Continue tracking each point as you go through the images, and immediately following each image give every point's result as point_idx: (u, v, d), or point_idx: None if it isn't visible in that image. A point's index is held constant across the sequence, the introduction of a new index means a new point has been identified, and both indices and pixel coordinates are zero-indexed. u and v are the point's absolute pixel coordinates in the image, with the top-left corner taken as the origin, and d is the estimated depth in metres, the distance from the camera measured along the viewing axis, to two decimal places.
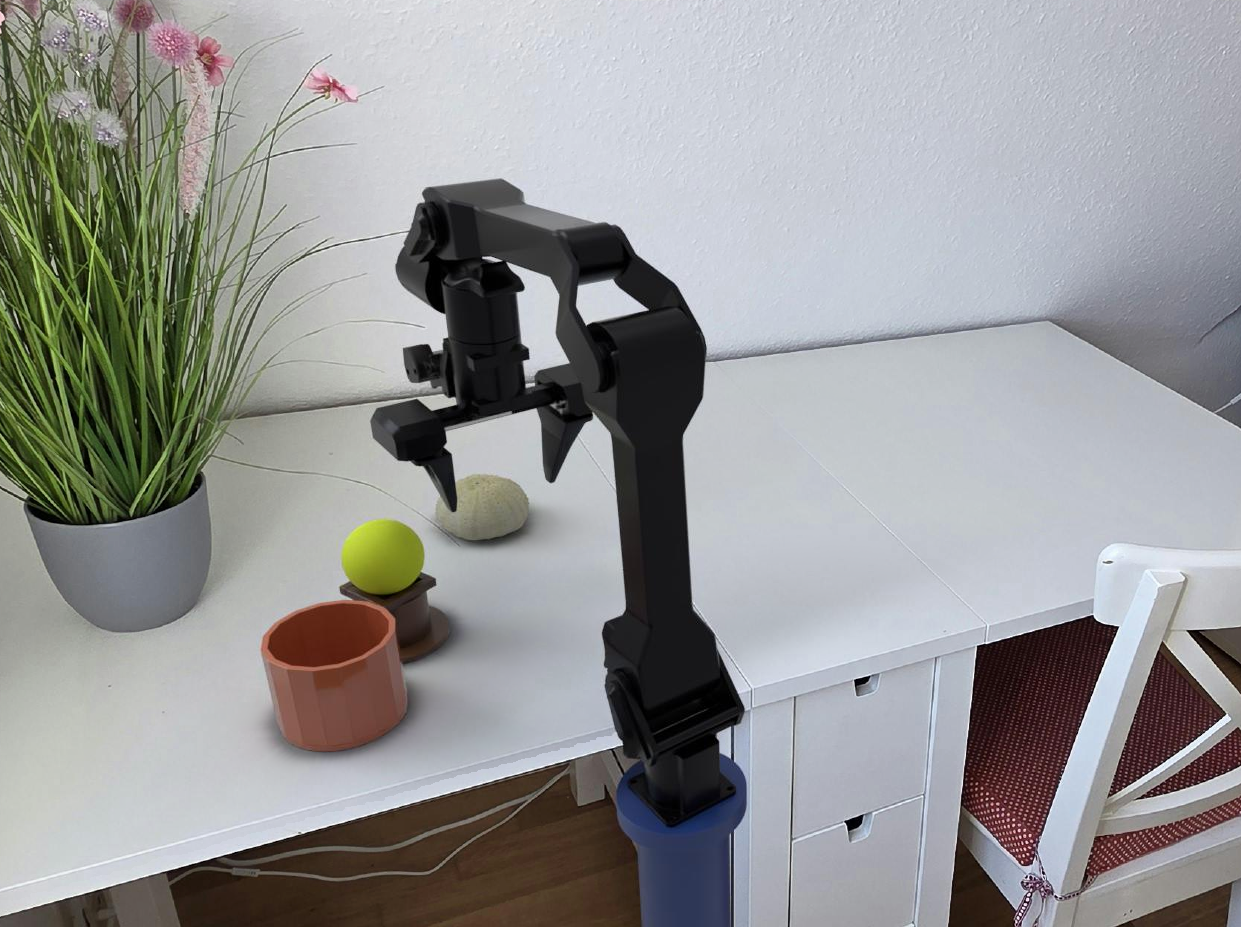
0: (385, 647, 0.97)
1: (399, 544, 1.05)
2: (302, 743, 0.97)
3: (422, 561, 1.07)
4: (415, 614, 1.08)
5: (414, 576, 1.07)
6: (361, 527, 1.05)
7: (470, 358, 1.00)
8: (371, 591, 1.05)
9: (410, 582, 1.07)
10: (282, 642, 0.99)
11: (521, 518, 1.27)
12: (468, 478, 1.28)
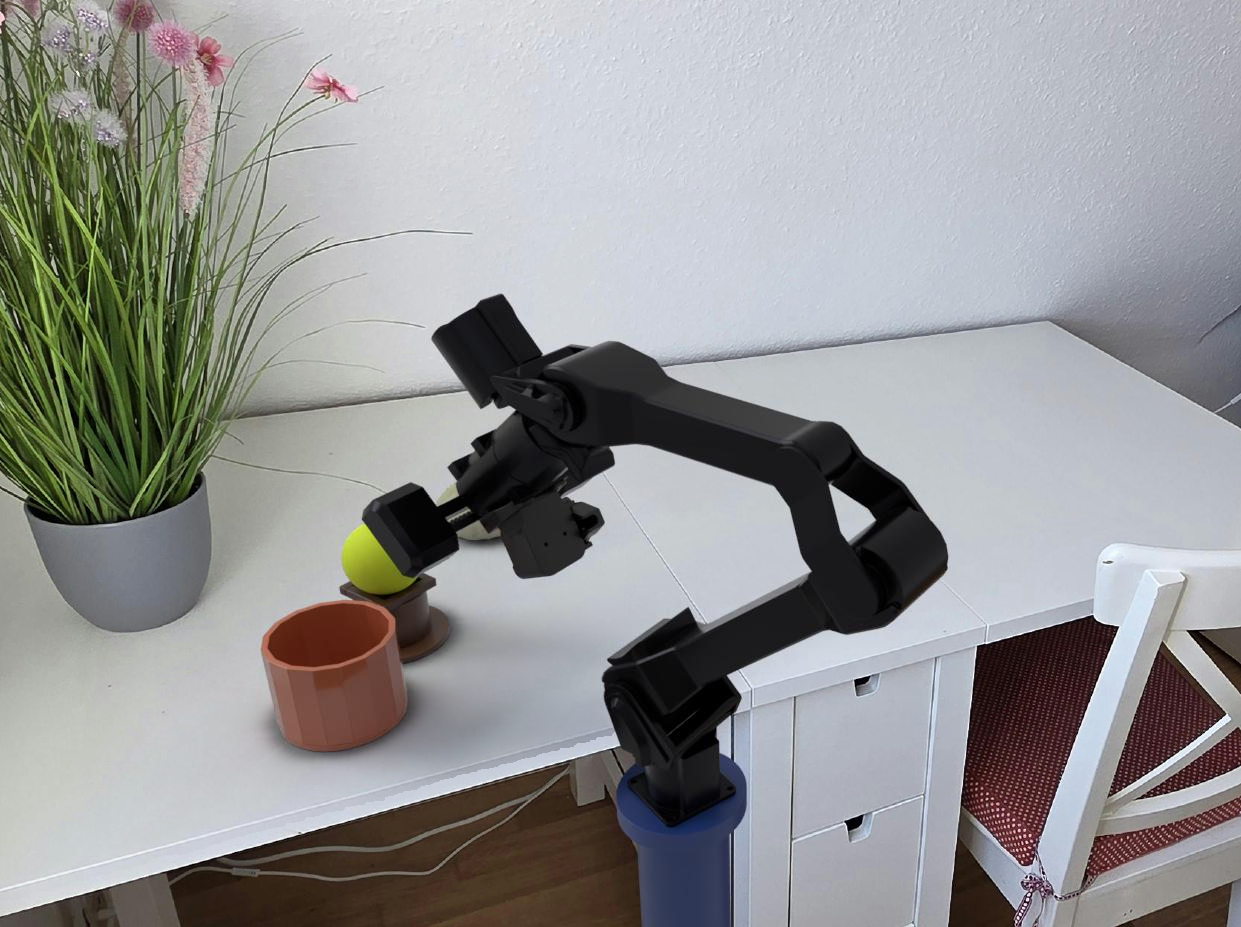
0: (385, 647, 0.97)
1: None
2: (302, 743, 0.97)
3: None
4: (415, 614, 1.08)
5: None
6: (361, 527, 1.05)
7: None
8: (371, 591, 1.05)
9: (410, 582, 1.07)
10: (282, 642, 0.99)
11: None
12: None
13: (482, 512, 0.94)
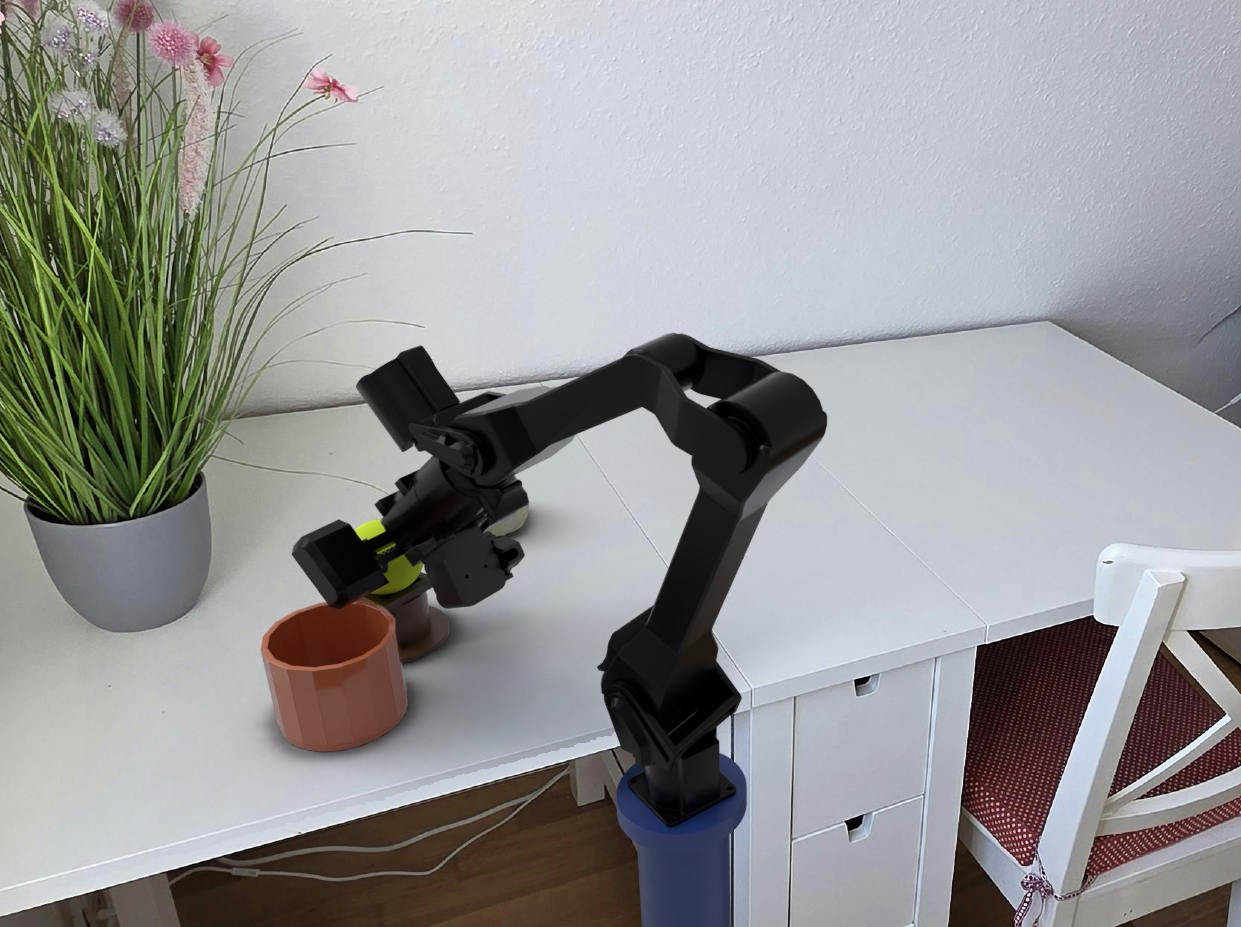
0: (385, 647, 0.97)
1: None
2: (302, 743, 0.97)
3: None
4: (415, 614, 1.08)
5: (414, 576, 1.07)
6: (361, 527, 1.05)
7: None
8: None
9: (410, 582, 1.07)
10: (282, 642, 0.99)
11: (521, 518, 1.27)
12: None
13: (407, 546, 1.00)
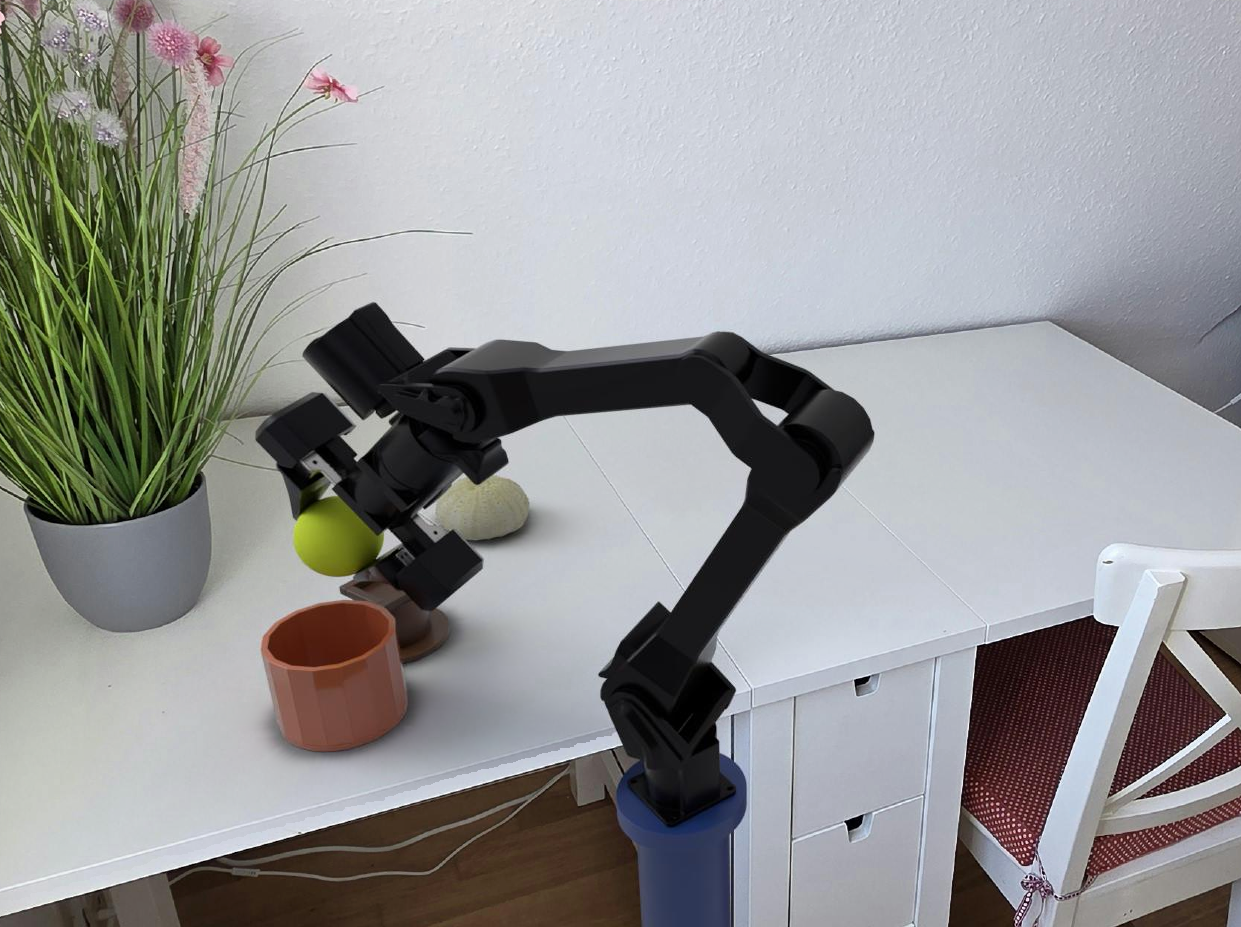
0: (385, 647, 0.97)
1: None
2: (302, 743, 0.97)
3: None
4: (415, 614, 1.08)
5: None
6: (327, 555, 0.96)
7: (367, 454, 0.90)
8: None
9: None
10: (282, 642, 0.99)
11: (521, 518, 1.27)
12: (468, 478, 1.28)
13: None
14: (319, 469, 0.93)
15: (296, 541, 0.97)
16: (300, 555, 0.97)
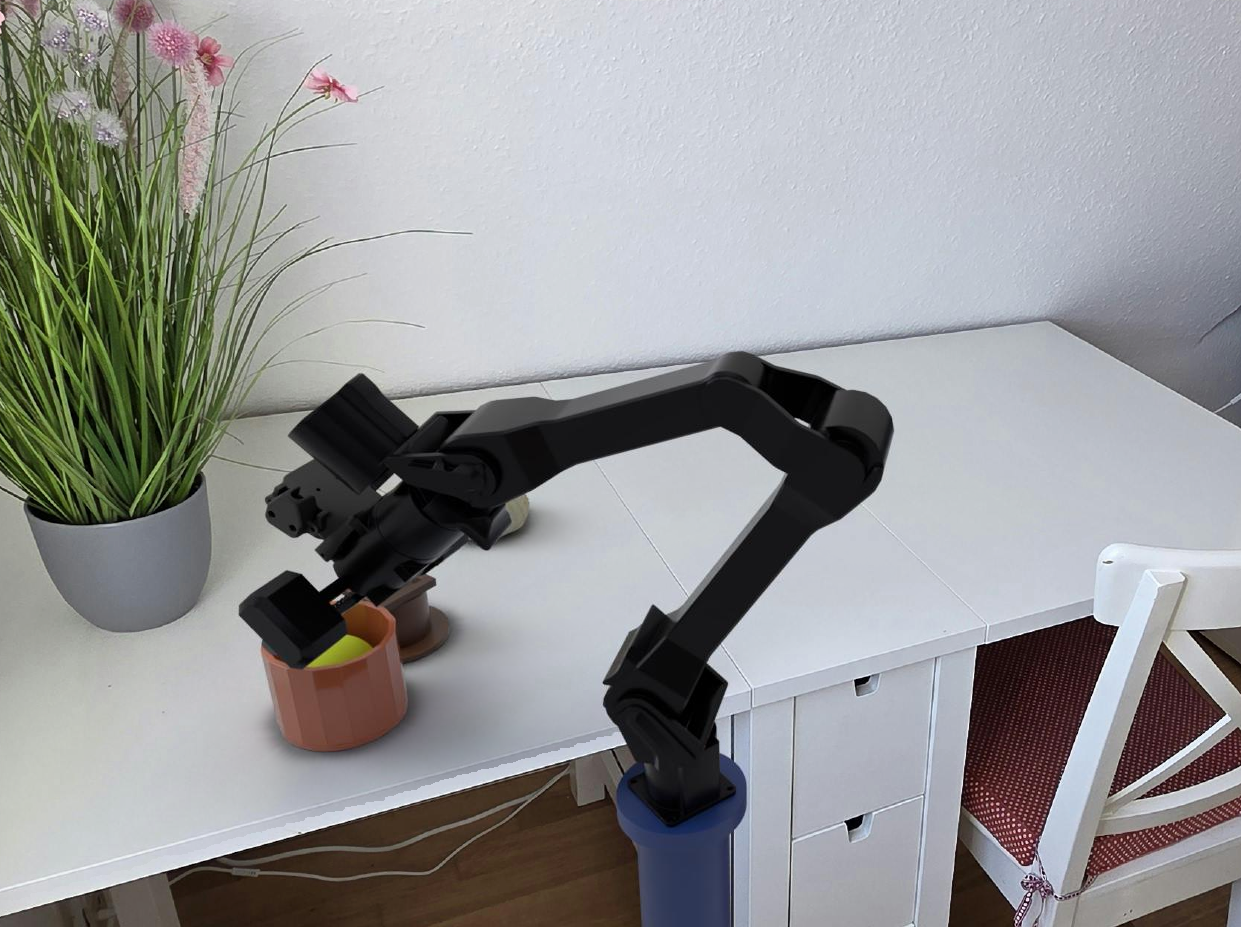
0: (385, 647, 0.97)
1: None
2: (302, 743, 0.97)
3: None
4: (415, 614, 1.08)
5: None
6: None
7: (406, 570, 0.88)
8: None
9: None
10: None
11: (521, 517, 1.27)
12: None
13: None
14: None
15: None
16: None
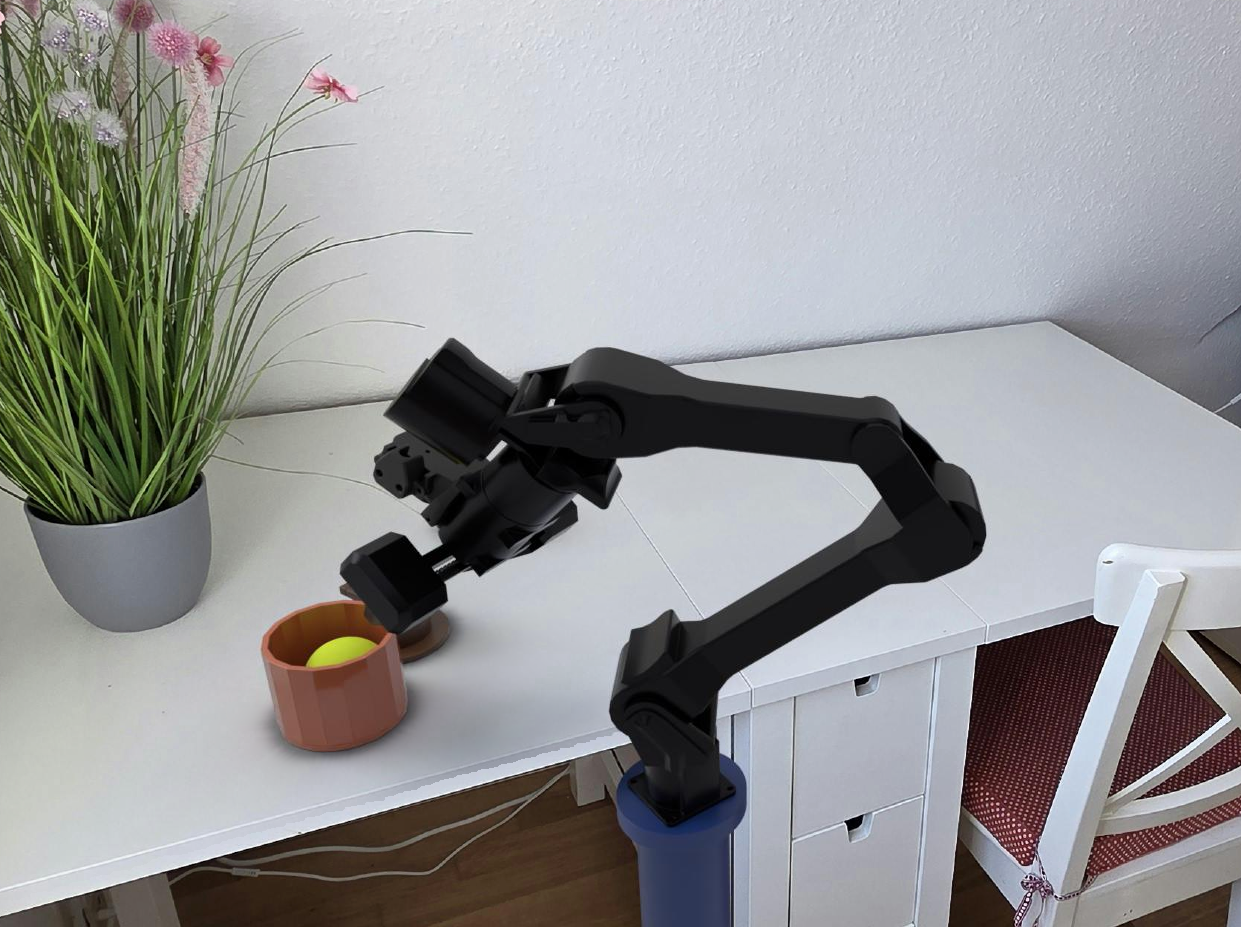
0: (385, 647, 0.97)
1: None
2: (302, 743, 0.97)
3: (335, 662, 0.96)
4: None
5: (336, 647, 0.97)
6: None
7: (510, 536, 0.84)
8: None
9: (333, 644, 0.98)
10: (282, 642, 0.99)
11: None
12: None
13: None
14: None
15: None
16: None
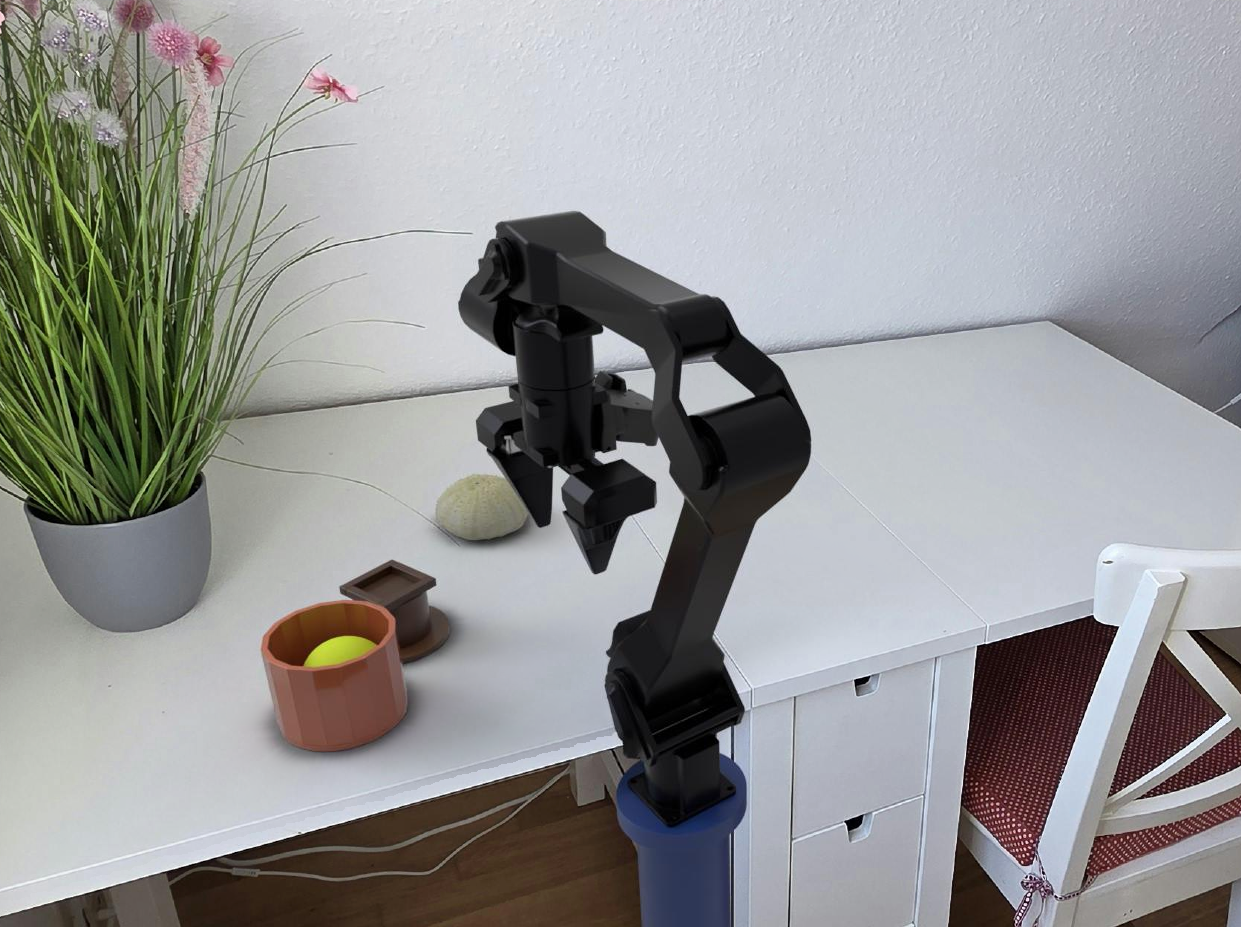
0: (385, 647, 0.97)
1: None
2: (302, 743, 0.97)
3: (331, 660, 0.96)
4: (415, 614, 1.08)
5: (332, 646, 0.97)
6: None
7: (515, 384, 0.95)
8: None
9: (329, 643, 0.98)
10: (282, 642, 0.99)
11: (521, 518, 1.27)
12: (468, 478, 1.28)
13: (595, 448, 0.97)
14: (508, 435, 1.00)
15: None
16: None
